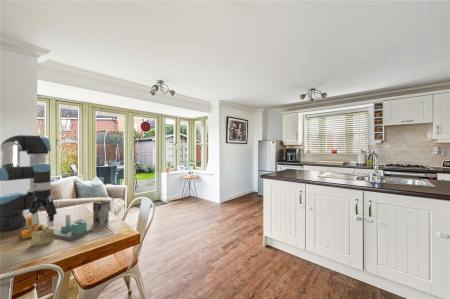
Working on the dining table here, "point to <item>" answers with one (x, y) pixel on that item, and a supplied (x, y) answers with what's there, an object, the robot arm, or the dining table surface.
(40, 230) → the sleeve
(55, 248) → the dining table surface
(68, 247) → the dining table surface
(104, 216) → the coffee box
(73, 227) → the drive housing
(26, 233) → the bracket
